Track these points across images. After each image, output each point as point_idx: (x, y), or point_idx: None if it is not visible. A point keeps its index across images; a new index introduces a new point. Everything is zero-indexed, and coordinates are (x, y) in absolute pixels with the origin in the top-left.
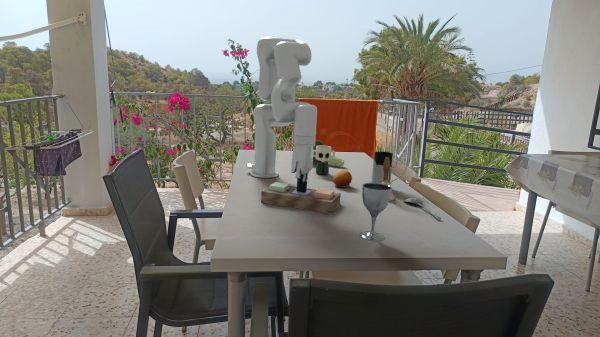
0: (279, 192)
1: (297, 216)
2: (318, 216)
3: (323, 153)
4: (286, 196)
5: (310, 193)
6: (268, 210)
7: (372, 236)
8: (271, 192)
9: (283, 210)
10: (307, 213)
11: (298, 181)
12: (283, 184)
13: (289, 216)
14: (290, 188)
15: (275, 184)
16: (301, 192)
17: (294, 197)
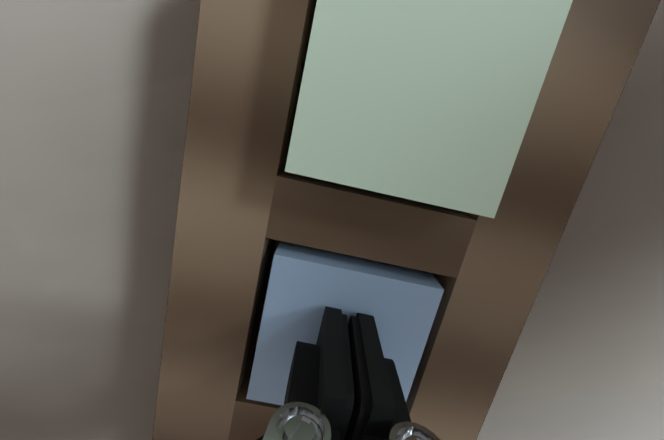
0: (253, 118)
1: (36, 305)
2: (102, 419)
3: None
4: (183, 213)
5: None
6: (58, 71)
7: None
8: (211, 14)
9: (114, 192)
10: (127, 356)
11: (319, 408)
12: (449, 133)
13: (8, 255)
14: None
15: (417, 6)
16: None
17: (172, 295)
